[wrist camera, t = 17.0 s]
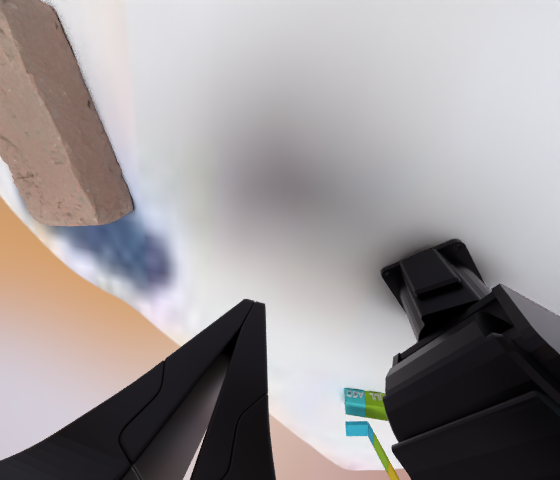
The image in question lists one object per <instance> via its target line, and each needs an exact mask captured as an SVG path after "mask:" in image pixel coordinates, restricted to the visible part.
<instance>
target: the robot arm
mask: <svg viewBox="0 0 560 480" xmlns="http://www.w3.org/2000/svg"><path fill="white" fill-rule="evenodd" d="M455 245H459V246H458V247H456V248H454V246H455ZM387 272H388V273H389V274H387V275H386V274H385V273H387ZM381 275H382V278H383V279H384V281H385V282H386V284H387V285H388V287H389V288H390V290H391V291H392V293H393V294H394V296H395V297H396V299H397V300H398V302H399V303H400V305H401V306H402V308H403V309H404V311H405V312H406V314H407V316H408V319H409V322H410V324H411V327H412V329H413V332H414V335H415V337H416V340H417V343H416V344H415V345H413V346H412V347H410V348H409V349H407V350H406V351H404V352H403V353H401V354H400V353H398V354H397V355H396V356H394V357H393V366H392V368H391V369H390V370H389V372H388V374H387V376H386V388H385V392H386V394H385V395H384V396H383V404H384V407H385V411H386V415H387V418H388V421H389V423H390V426H391V428H392V431H393V433H394V435H395V437H396V439H397V440H398V442H399V443H397V444H394V445H392V452H393V453H394V455H395V456H396V458H397V459H398V461H399V462H400V463H401V465H402V466H403V468H404V469H405V470H406V472H407V473H408V474H409V476H410V478H411V480H560V316H558V315H556V314H555V313H553V312H551V311H549V310H547V309H546V308H544V307H542V306H540V305H538V304H537V303H535V302H533V301H531V300H529V299H528V298H526V297H524V296H522V295H520V294H519V293H517V292H515V291H513V290H511V289H509V288H508V287H506V286H504V285H502V284H499V285H497V286H496V287H494V288H493V289H491V290H492V292H491V291H490V290H489V289H488V288H487V286H486V285H485V283H484V281H483V279H482V277H481V275H480V273H479V272H478V270H477V268H476V266H475V264H474V262H473V260H472V258H471V256H470V254H469V252H468V250H467V248H466V246H465V244H464V243H463V242H462V241H461V240H452V241H449V242H447V243H445V244H442V245H440V246H437V247H435V248H432V249H428V250H426V251H423V252H421V253H419V254H416V255H414V256H411V257H409V258H406V259H404V260H402V261H400V262H398V263H396V264H393V265H391V266H388V267H386V268H384V269H382V270H381ZM207 427H208V428H207ZM206 429H207V431H206ZM205 431H206V434H205ZM204 434H205V437H204V440H203V443H202V446H201V449H200V451H199V455H198V458H197V460H196V464H195V466H194V469H193V472H192V475H191V478H190V480H276V477H275V470H274V462H273V455H272V446H271V438H270V426H269V408H268V378H267V343H266V309H265V304H264V303H260V302H254V301H253V300H249V299H244V300H242V301H241V302H240V303H239V304H237V305H236V306H235V307H233V308H232V309H231V310H229V311H228V312H227V313H225V314H224V315H223V316H221V317H220V318H219V319H217V320H216V321H215V322H213V323H212V324H211V325H209V326H208V327H207V328H206V329H204V330H203V331H202V332H200V333H199V334H198V335H196V336H195V337H194V338H192V339H191V340H190V341H188V342H187V343H186V344H184V345H183V346H182V347H180V348H179V349H178V350H176V351H175V352H174V353H172V354H171V355H170V356H169V357H167V358H166V359H165V361H162V362H161V363H159V364H158V365H156V366H155V367H154V368H153V369H151V370H150V371H148V372H147V373H146V374H144V375H143V376H142V377H140V378H139V379H137V380H136V381H135V382H133V383H132V384H130V385H129V386H127V387H126V388H124V389H123V390H121V391H120V392H119V393H117V394H115V395H114V396H112V397H111V398H109V399H108V400H106V401H104V402H103V403H101V404H100V405H98V406H97V407H95V408H93V409H92V410H91V411H89V412H87V413H86V414H84V415H83V416H81V417H80V418H78V419H76V420H75V421H73V422H72V423H70V424H68V425H67V426H65V427H64V428H62V429H61V430H59V431H58V432H56V433H54V434H53V435H51V436H50V437H48V438H46V439H44V440H43V441H41V442H39V443H37V444H35V445H34V446H32V447H30V448H28V449H26V450H24V451H22V452H20V453H17V454H15V455H13V456H11V457H8V458H6V459H3V460H1V461H0V480H183V478H184V476H185V474H186V471H187V469H188V467H189V465H190V463H191V461H192V459H193V457H194V455H195V453H196V450H197V448H198V446H199V444H200V442H201V440H202V438H203V436H204Z"/></svg>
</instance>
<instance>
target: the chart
mask: <svg viewBox="0 0 560 480" xmlns="http://www.w3.org/2000/svg"><path fill="white" fill-rule="evenodd" d="M344 391H345V411H346V414H348V415H354V416H360V417H367V418H373V419H379V420H385V421H388V418H387V415H386V411H385V407H384V404H383V396H384V395H385V394H384V393H377V392H370V391H362V390H355V389H348V388H344ZM346 436H368V437H369V439H370V441H371V443H372V445H373V447H374V448H375V450H376V452H377V454H378V456H379V458H380V460H381V462H382V464H383V466H384V468H385V470H386V471H387V473H388V475H389V477H390V479H391V480H400V479H399V478H398V476H397V474H396V472H395V470H394V468H393V467H392V465H391V463H390V461H389V459H388V457H387V456H386V454H385V452H384V450H383V448H382V446H381V445H380V443H379V441H378V439H377V437H376V435H375V434H374V432H373V430H372V428H371V426H370V424H369V423H368V421H356V422H346Z"/></svg>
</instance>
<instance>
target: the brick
mask: <svg viewBox="0 0 560 480" xmlns="http://www.w3.org/2000/svg"><path fill="white" fill-rule="evenodd" d="M0 156H1V157H2V159H3V161H4V162H5V163H6V164H8V166H9V169H10V171H11V173H12V174H13V175H12V177H13V179H14V184H15V185H16V187H17V188H18V189H19V192H20V195H21V197H22V198H23V199H24V201H25V203H26V206H27V208H28V210H29V212H30V213H31V215H32V216H33V218H34V219H35V220H36V221H38V222H39V223H41V224H46V225H50V226H86V225H103V224H108V223H112V222H114V221H116V220H118V219H120V218H121V217H123V216H124V215H126V214H128V213H129V212H131V211H133V205H132V200H131V197H130V194H129V191H128V187H127V185H126V183H125V181H124V180H123V178H122V177H121V174H122V171H121V168H120V167H119V165H118V164H117V162H116V157H115V155H114V152H113V150H112V147H111V145H110V142H109V139H108V137H107V135H106V133H105V131H104V128H103V125H102V123H101V121H100V118H99V116H98V114H97V112H96V110H95V107H94V104H93V102H92V99H91V96H90V94H89V92H88V90H87V88H86V85H85V83H84V81H83V78H82V75H81V72H80V69H79V66H78V64H77V61H76V59H75V57H74V55H73V53H72V50H71V48H70V46H69V44H68V42H67V40H66V38H65V35H64V33H63V31H62V28H61V25H60V23H59V21H58V19H57V16H56V14H55V12H54V11H53V9H52V8H51V7H50V6H48V5H47V4H45V3H43V2H41V1H40V0H0Z"/></svg>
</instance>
